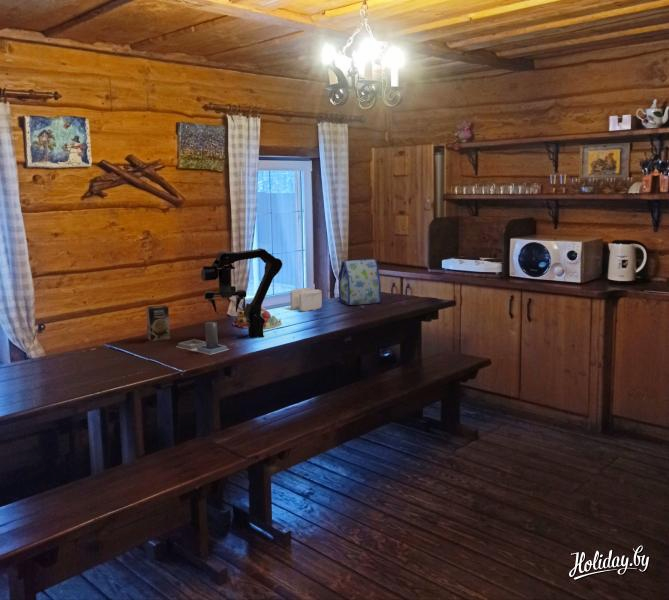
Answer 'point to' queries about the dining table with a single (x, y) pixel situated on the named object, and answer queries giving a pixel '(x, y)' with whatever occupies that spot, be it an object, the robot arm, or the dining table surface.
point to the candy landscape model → (269, 321)
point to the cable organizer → (306, 299)
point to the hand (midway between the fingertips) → (226, 312)
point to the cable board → (200, 347)
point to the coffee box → (158, 322)
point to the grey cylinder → (211, 335)
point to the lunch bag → (359, 282)
